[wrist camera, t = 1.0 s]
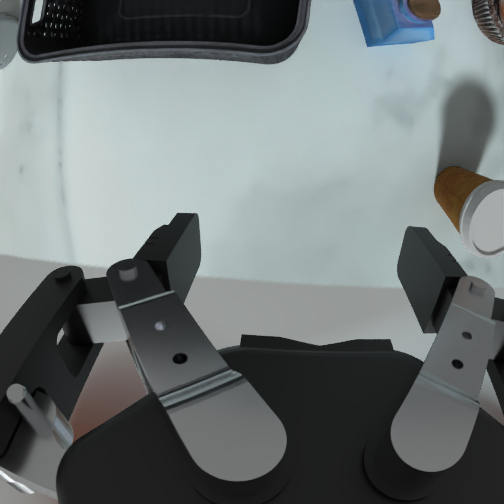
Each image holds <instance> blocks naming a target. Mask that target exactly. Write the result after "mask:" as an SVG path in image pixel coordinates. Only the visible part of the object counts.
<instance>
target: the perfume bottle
mask: <svg viewBox="0 0 504 504" xmlns="http://www.w3.org/2000/svg"><path fill="white" fill-rule="evenodd" d="M353 2H354V5H355V8H356V11H357V14H358V17H359V20H360V23H361V27H362V30H363V34H364V37H365V40H366V44H367V47H372V46H382V45H393V44H407V43H416V42H422V41H428V40H434V27H433V23H432V20H433V19H435V18H437V17H438V16H439V14H440V11H441V7H440V3H439V1H438V0H354V1H353Z"/></svg>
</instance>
